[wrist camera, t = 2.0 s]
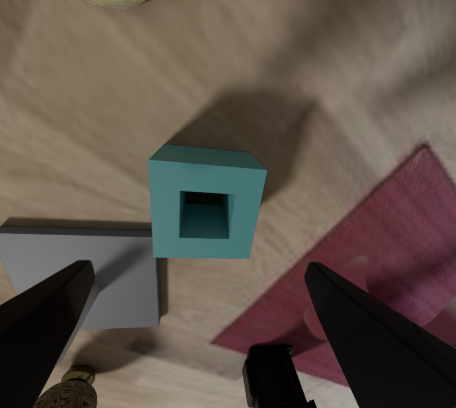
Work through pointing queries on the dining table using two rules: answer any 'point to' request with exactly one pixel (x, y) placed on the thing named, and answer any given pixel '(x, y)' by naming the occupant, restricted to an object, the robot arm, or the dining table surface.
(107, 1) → the bread roll
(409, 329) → the robot arm
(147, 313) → the post stand
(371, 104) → the dining table surface
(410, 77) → the dining table surface
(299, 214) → the dining table surface
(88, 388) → the cup
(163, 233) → the teal block with hole
